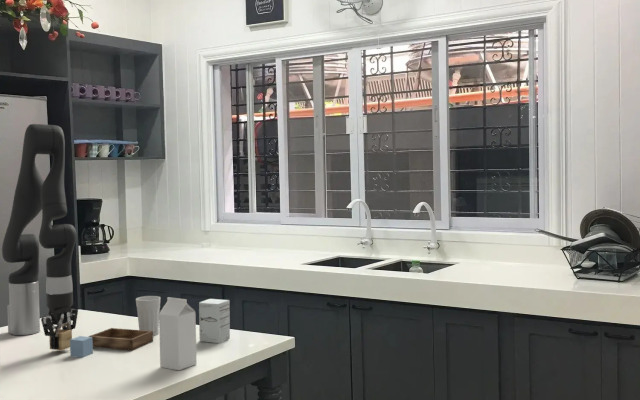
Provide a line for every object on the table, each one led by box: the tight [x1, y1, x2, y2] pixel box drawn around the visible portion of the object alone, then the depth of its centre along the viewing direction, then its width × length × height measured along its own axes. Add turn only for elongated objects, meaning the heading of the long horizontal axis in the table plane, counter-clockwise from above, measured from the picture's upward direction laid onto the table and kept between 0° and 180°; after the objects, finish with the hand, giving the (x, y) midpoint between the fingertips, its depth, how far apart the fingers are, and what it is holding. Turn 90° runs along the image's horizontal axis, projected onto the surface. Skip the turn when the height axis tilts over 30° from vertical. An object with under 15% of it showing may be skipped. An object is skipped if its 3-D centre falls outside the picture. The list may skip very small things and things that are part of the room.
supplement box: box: [198, 298, 231, 344], centre depth 226 cm, size 7×7×13 cm
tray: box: [87, 327, 154, 352], centre depth 222 cm, size 16×12×3 cm
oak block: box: [48, 328, 73, 351], centre depth 214 cm, size 4×4×5 cm
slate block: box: [69, 335, 94, 358], centre depth 211 cm, size 4×4×5 cm
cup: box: [135, 295, 161, 337], centre depth 235 cm, size 8×8×12 cm
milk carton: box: [158, 296, 198, 371], centre depth 197 cm, size 7×7×19 cm
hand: (60, 346), depth 214 cm, fingers closed on oak block, 4 cm apart
